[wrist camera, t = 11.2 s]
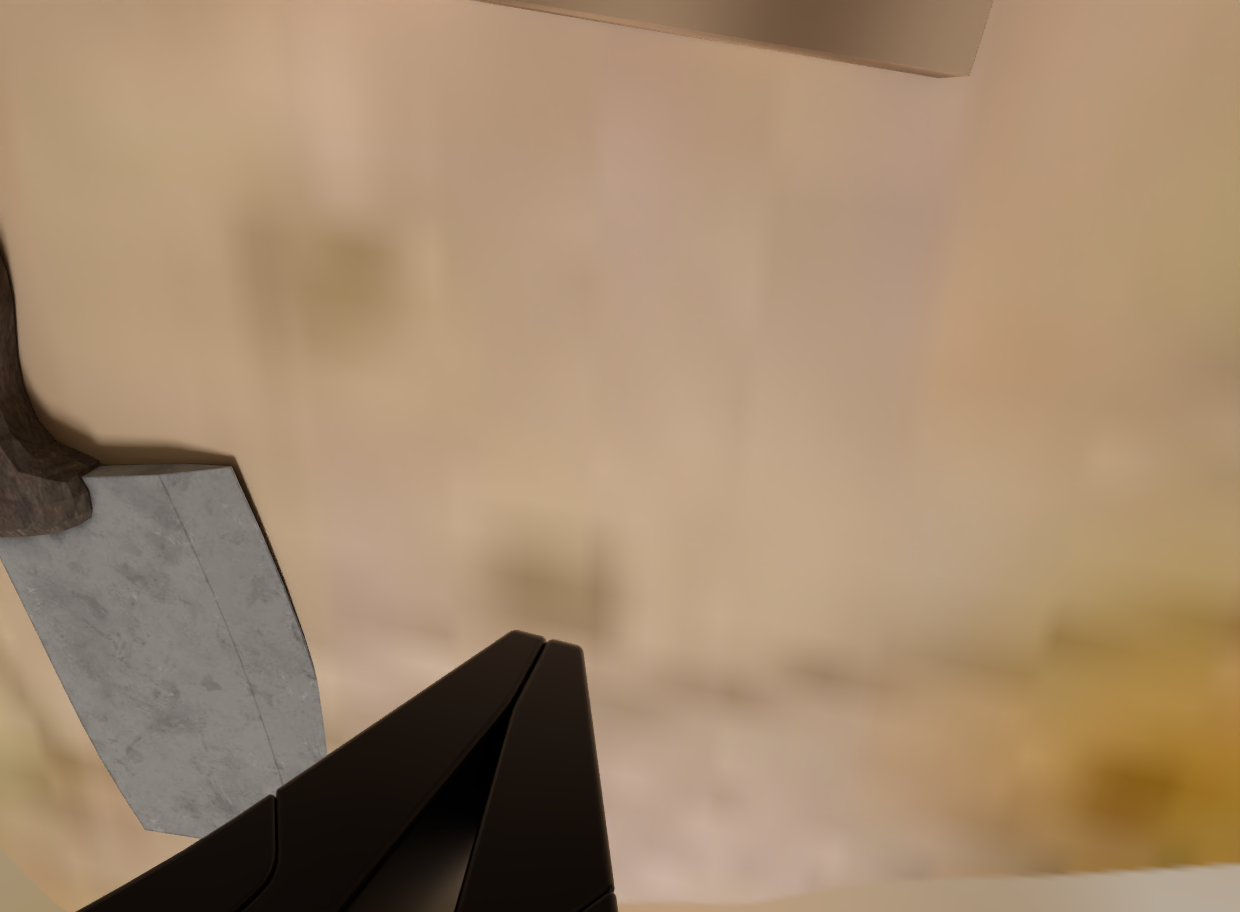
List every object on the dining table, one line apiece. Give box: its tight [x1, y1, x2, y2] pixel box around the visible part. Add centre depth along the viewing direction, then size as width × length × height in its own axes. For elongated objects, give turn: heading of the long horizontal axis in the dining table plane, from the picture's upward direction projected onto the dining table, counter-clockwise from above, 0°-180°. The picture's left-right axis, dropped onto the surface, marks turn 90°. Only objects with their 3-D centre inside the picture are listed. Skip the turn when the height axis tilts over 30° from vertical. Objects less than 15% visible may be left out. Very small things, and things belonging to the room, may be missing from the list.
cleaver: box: [0, 255, 327, 839], centre depth 24 cm, size 29×10×2 cm, turn 7°
